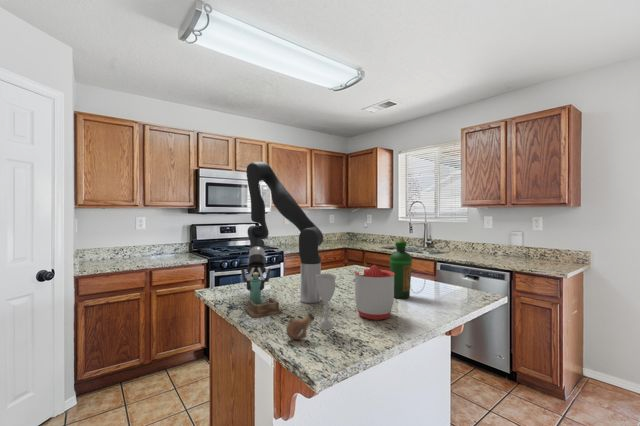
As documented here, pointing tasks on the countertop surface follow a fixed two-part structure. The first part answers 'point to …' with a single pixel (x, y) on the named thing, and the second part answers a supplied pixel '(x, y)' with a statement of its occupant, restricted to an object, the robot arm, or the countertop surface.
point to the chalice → (326, 295)
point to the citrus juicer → (374, 293)
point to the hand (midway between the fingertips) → (255, 289)
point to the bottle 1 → (255, 288)
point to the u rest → (263, 308)
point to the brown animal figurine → (298, 327)
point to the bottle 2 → (401, 270)
